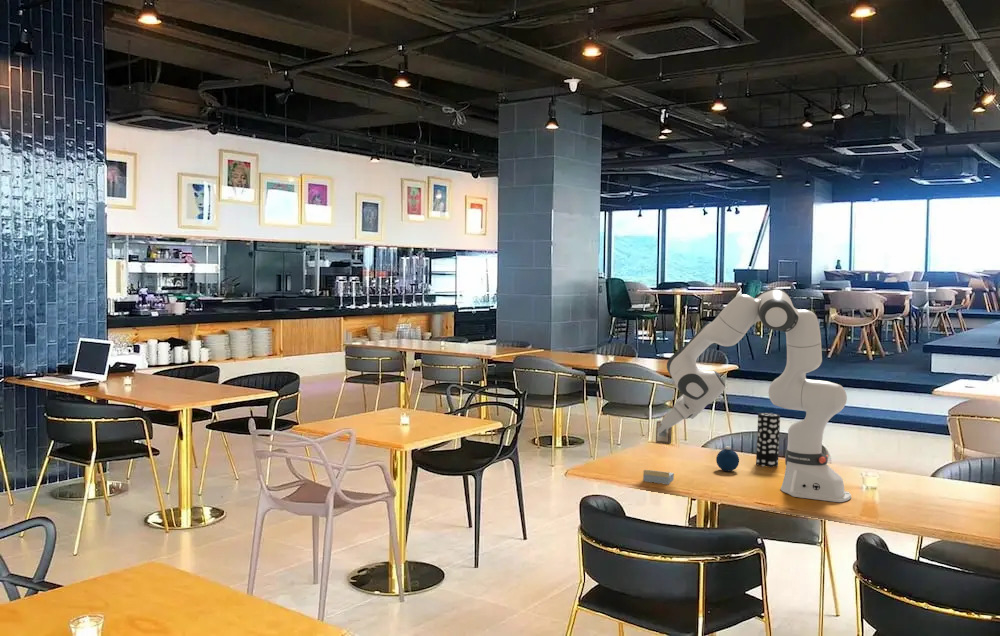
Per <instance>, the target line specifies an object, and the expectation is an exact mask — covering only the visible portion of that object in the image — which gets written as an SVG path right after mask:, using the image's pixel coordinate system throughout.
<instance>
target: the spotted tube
mask: <svg viewBox="0 0 1000 636" xmlns="http://www.w3.org/2000/svg"><path fill="white" fill-rule="evenodd" d="M780 424H781V415H780V414H778V413H773V412H772V413H771V412H759V413H758V414H757V430H756V432H757V433H756V435H757V436H756V454H755V457H756V459H755V465H757V464H758V465H757V466H759V465H761V466H760V467H764V466H769V467H768V468H774V467H773V466H777V467H779V456H780V455H779V453H780V452H779V450H780V448H779V447H780V429H781V428H780Z"/></svg>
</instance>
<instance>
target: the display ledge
mask: <svg viewBox="0 0 1000 636" xmlns="http://www.w3.org/2000/svg"><path fill="white" fill-rule="evenodd" d="M674 474H675V473H674V472H670V471H669V472H668V471H658V470H652V469H643V474H642V475H643V477H642V479H643V480H642V481H643V482H644V481H645V482H646V483H652V482H654V483H653V484H660V483H662V484H661V485H669V484H671V483H672V482H673V481H674V476H675V475H674ZM670 482H671V483H670Z"/></svg>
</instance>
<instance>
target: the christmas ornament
mask: <svg viewBox="0 0 1000 636" xmlns="http://www.w3.org/2000/svg"><path fill="white" fill-rule="evenodd" d="M731 448H732V447H731V445H727V446H725V448H723V449H721V450H720V451H719V452H718V453H717V455H716V459H715V461H716V464H717V466H718V468H719V469H721V470H722V471H724V472H732V471H735V470H736V469H737V468H738V466H739V464H740V458H739V455H738V453H737V452H736V451H735V450H733V449H731Z"/></svg>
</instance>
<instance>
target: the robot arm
mask: <svg viewBox="0 0 1000 636" xmlns="http://www.w3.org/2000/svg"><path fill="white" fill-rule="evenodd" d="M759 322H761V324H763V326H765V327H766V328H767V329H770V330H773V331H781V332H785V338H786V340H785V341H786V364H785V368H784V370H783V372H782V373H781V374H780V375H779V376H778V377H776V378H774V380H772V382H771V383H770V385H769V387H768V397H769V401H770V402H771V403H772V404H773V405H774V406H776V407H780V408H782V409H786V410H793V411H794V410H795V411H802V412H805V417H804V419H801V420H798V421H796V422H794V423H792V424H791V425H790V426H789V427H788V430H787V448H786V450H785V451H786V452H785V455H784V456H785V457H784V462H785V463H784V464H785V470H784V471H785V472H784V475H783V481H782V485H781V487H780V490H781V491H782V492H783V493H786V494H788V495H790V496H791V497H793V498H795V497H796V498H801V499H811V500H819V501H825V502H834V503H843V502H844V503H845V502H847V501H849V500H851V498H852V494H851V493H850V492H849V491H845V483H844V479H843V477H842V476H841V475H839V473H837V472H836V471H835V470H834V469H832V467H830V465H828V456H829V455H828V454H824V453H823V452H822V451H823V450H822V447H823V446H822V445H823V438H824V437H823V436H824V432H825V428H826V426H827V424H828V422H829V421H830V420H831V419H832V418H833V417H834V416H835V415H837V414H839V413H840V412H841V411H842V410H843V409H844V408H845V406H846V404H847V392H846V390H845V388H844V387H843V385H841V384H840V383H839V384H838V383H835V382H831V381H828V380H820V379H809V378H807V373H811V372H813V371H815V370H817V369H818V368H819V367H820V366H821V365H822V363H823V355H822V354H823V353H822V351H823V350H822V335H821V328H820V324H819V320H818V316H817V315H816V313H814V312H813V311H811V310H808V309H798V308H796V307H794V304H793V302H792V298H791V296H790V295H789V294H788V292H787V291H786V290H784V289H782V288H778V287H774V288H773V287H772V288H769V289H767V290H765V291H762V292H760V293H758V294H755V296H754V297H753V296H751V295H749V294H745V293H743V294H741V293H740V294H738V295H736V296H735V297H734V298H733V299H731V301H729V302H728V303H727V305H725V306H724V308H723V309H722V310H721V311H720V312H719V313H718V315H717V316H716V317H715V318H714V319H713V320H712V321H711V322H708V323H706V324H705V325H704V326H703V327H702V328H701V329H699V331H697V333H696V334H694V335H693V337H692V338H691V339H690V340H689V341H688V342H687V343H686V344H685V345H684V346H683V347H682V348H680V350H678V351H676V352H675V353H673V354H672V355H671V356H670V357H669V358H668V360H667V363H666V370H667V371H668V373H669V375H670V377H671V378H672V381H673V382H674V385H675V386H676V388H677V390H678V391H679V392H680V393H681V394H682V395H680V396H679V397H678V398H677V399H676V400H675V403H674V404H673V407H672V408H671V409H670V410H669V411H668V413H667V414H665V416H663V418H662V419H661V420H660V421H661V424H662V425H661V426H660V427H659V428H658V429H657V431H658V432H659V433H661V432H663V431H664V430H665V429H669V428H670V427H672V428H673V427H674V426H676V425H677V424H679V423H681V422H682V421H684V420H688V419H691V420H692V419H694V418H696V417H697V416H698V415H699V414H700V413H702V411H704V409H705V408H706V407H707V406H708V405H710V404H712V403H713V402H714V401H715V400H717V398H719V397H720V396H721V394H722V393H723V392H724V390H725V389H726V384H725V382H724V380H723V379H722V376H720V374H719V373H718V372H717V371H716V370H711V371H705V370H701V369H698V366H697V359H698V357H700V356H701V355H702V354H703V352H705V350H706V349H708V348H709V346H711V345H712V344H717V345H719V346H722V347H733V346H735V345H736V344H738V343H739V342H740V341H741V340H742V339H743V337H744V336H745V335H746V334H747V332H748V331H749V330H750V328H751V327H753V325H755V324H756V323H759Z"/></svg>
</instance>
